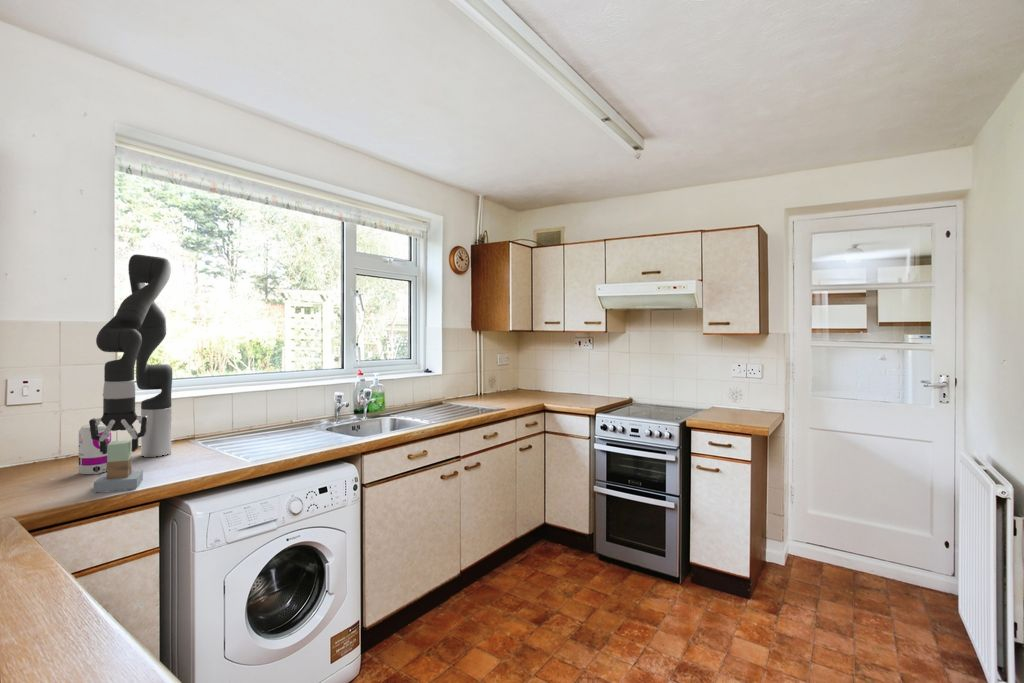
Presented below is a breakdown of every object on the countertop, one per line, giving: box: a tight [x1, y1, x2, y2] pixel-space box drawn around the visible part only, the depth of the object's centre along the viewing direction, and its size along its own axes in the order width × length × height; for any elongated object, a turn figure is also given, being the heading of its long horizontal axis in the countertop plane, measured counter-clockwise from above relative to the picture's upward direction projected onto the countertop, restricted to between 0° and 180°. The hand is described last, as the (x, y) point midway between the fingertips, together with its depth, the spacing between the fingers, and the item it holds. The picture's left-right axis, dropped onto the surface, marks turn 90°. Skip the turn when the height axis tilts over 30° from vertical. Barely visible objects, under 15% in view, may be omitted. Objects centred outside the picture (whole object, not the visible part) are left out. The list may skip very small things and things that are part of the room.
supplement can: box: [78, 423, 112, 475], centre depth 166 cm, size 8×8×15 cm
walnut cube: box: [106, 457, 132, 479], centre depth 152 cm, size 5×5×5 cm
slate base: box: [93, 469, 144, 494], centre depth 152 cm, size 10×10×3 cm
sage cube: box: [107, 439, 132, 462], centre depth 152 cm, size 5×5×5 cm
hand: (119, 452), depth 152 cm, fingers open, 6 cm apart
